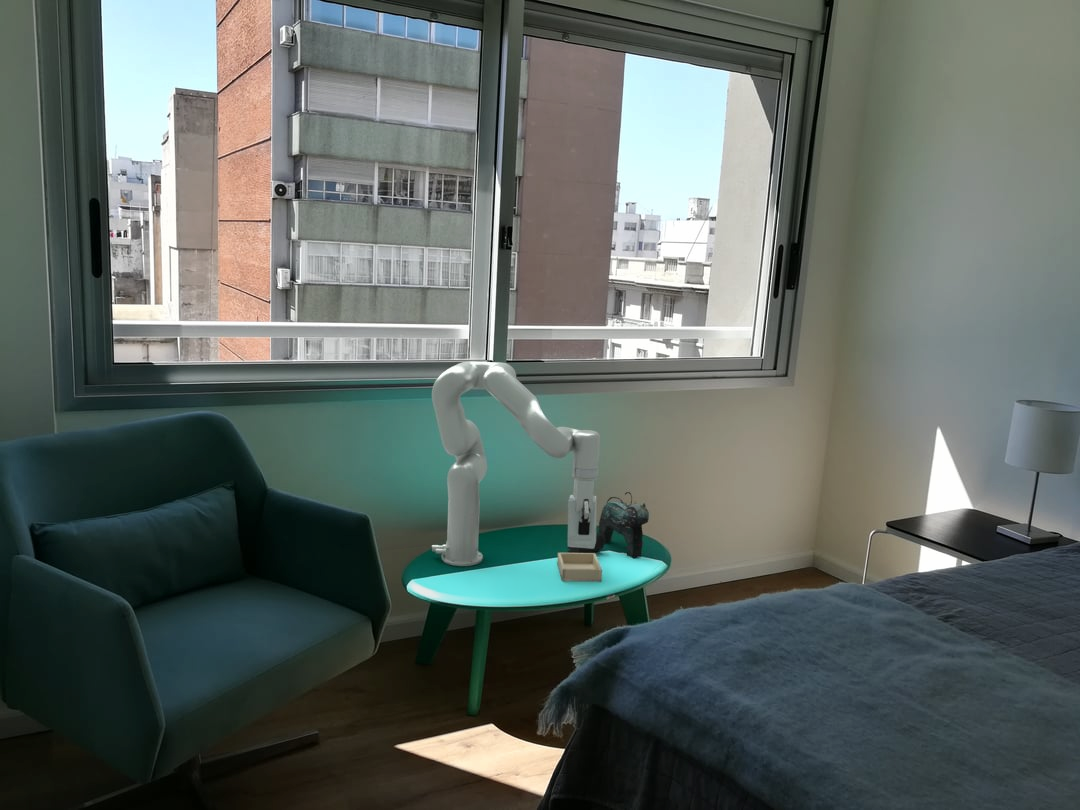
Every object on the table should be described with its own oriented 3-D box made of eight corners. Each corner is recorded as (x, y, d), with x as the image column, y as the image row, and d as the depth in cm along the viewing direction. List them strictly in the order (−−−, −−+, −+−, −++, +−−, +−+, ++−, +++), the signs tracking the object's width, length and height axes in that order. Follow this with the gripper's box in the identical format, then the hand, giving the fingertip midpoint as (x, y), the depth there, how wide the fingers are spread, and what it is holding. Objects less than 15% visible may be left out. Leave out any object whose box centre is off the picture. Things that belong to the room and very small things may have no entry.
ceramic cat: (647, 558, 272) (652, 497, 269) (631, 561, 269) (636, 500, 265) (607, 538, 288) (611, 481, 284) (592, 541, 285) (596, 483, 281)
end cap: (579, 560, 268) (580, 539, 266) (565, 552, 273) (566, 532, 272) (603, 554, 273) (605, 534, 272) (590, 547, 279) (591, 527, 278)
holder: (562, 581, 250) (562, 569, 250) (557, 563, 264) (557, 552, 263) (601, 581, 251) (602, 570, 251) (594, 564, 265) (595, 553, 264)
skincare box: (596, 543, 258) (598, 495, 255) (593, 550, 252) (596, 501, 250) (568, 540, 259) (570, 493, 257) (565, 547, 253) (568, 498, 251)
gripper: (569, 464, 260) (566, 520, 263) (576, 480, 243) (572, 540, 246) (593, 464, 260) (590, 521, 264) (602, 480, 243) (598, 540, 247)
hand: (581, 529), depth 255 cm, fingers closed on skincare box, 6 cm apart
